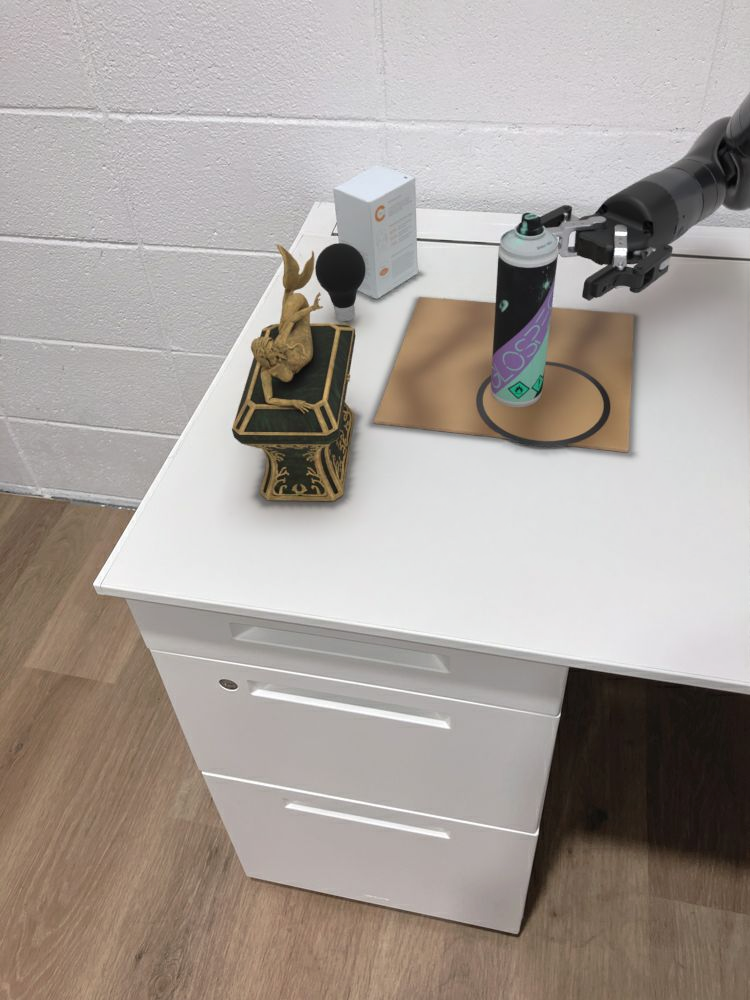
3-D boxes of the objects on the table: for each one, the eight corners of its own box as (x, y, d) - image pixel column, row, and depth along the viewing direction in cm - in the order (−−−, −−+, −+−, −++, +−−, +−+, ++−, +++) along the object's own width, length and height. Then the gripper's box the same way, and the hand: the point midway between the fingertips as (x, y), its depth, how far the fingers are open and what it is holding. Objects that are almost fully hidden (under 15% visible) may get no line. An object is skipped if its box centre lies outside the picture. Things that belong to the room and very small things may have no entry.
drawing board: (633, 316, 95) (634, 313, 95) (627, 459, 79) (628, 455, 78) (419, 299, 101) (419, 295, 100) (371, 429, 84) (371, 425, 84)
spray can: (486, 404, 85) (496, 228, 71) (494, 373, 89) (504, 200, 74) (539, 410, 84) (559, 232, 69) (544, 378, 88) (564, 203, 73)
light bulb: (347, 340, 95) (339, 265, 88) (312, 324, 98) (301, 249, 91) (379, 317, 98) (374, 243, 91) (344, 302, 101) (336, 228, 94)
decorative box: (349, 515, 76) (328, 343, 62) (250, 513, 77) (206, 343, 63) (367, 383, 90) (353, 217, 75) (282, 383, 90) (253, 219, 76)
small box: (383, 258, 108) (378, 162, 99) (419, 274, 105) (417, 176, 95) (341, 284, 104) (331, 186, 95) (376, 300, 101) (370, 202, 92)
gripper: (600, 161, 87) (499, 215, 80) (717, 202, 79) (616, 266, 73) (590, 226, 93) (495, 282, 86) (699, 270, 85) (604, 335, 78)
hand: (551, 274), depth 79 cm, fingers open, 8 cm apart
